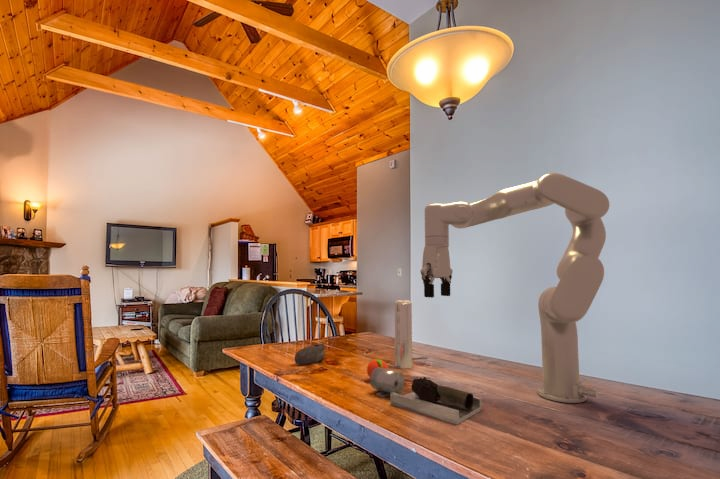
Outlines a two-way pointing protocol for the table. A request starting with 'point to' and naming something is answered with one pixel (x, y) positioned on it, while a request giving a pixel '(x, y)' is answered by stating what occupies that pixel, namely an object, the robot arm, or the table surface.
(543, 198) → the robot arm
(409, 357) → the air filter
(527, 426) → the table surface
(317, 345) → the perforated stone tool
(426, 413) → the cradle
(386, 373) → the duct stub
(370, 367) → the clementine
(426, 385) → the brown knobbed club
